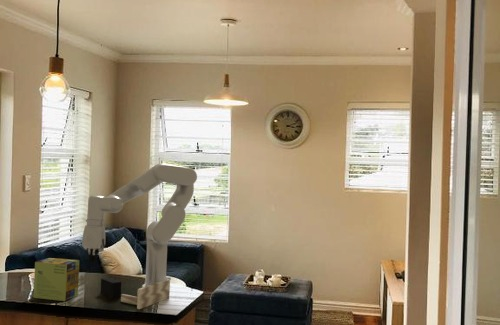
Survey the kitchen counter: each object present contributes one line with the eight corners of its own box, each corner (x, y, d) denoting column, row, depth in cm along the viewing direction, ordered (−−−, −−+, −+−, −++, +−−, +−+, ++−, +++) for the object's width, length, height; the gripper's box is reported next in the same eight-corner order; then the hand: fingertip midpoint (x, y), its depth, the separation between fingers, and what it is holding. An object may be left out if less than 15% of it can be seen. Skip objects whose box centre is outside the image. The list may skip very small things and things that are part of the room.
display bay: (145, 293, 233) (145, 275, 233) (169, 297, 227) (170, 279, 227) (113, 304, 214) (114, 285, 214) (139, 309, 208) (140, 289, 208)
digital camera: (123, 297, 226) (124, 281, 226) (112, 299, 222) (113, 282, 222) (111, 292, 233) (112, 276, 233) (100, 294, 229) (101, 278, 229)
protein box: (65, 301, 215) (67, 264, 215) (32, 298, 218) (34, 261, 218) (78, 295, 226) (80, 260, 226) (47, 292, 229) (48, 257, 229)
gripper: (77, 221, 232) (74, 262, 232) (102, 225, 226) (99, 267, 225) (88, 220, 239) (86, 260, 239) (114, 224, 232) (111, 264, 232)
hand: (92, 263), depth 232 cm, fingers closed
